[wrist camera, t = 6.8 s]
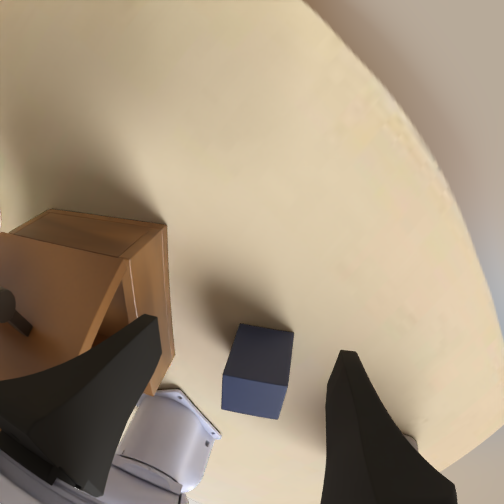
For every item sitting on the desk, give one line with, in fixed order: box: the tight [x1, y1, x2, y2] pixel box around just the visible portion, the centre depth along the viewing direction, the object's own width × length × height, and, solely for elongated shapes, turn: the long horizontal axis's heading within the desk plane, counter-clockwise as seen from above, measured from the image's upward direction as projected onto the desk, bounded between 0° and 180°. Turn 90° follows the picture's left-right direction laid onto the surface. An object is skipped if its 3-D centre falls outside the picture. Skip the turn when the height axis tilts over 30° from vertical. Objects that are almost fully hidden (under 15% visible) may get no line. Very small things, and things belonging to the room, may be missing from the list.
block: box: [221, 323, 294, 420], centre depth 22 cm, size 4×4×5 cm
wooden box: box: [9, 209, 175, 397], centre depth 22 cm, size 13×12×5 cm
